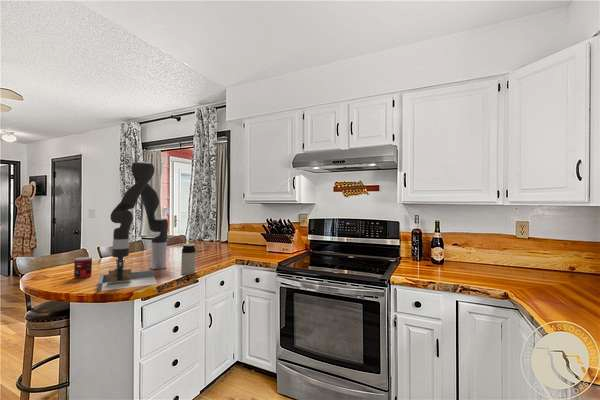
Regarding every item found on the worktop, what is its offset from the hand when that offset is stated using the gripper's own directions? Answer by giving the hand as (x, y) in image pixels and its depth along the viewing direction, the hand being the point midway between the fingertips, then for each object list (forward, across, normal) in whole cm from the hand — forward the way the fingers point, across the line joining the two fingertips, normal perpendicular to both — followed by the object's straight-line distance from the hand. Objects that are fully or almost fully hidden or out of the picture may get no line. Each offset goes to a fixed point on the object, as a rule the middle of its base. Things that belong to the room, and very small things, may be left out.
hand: (119, 279), depth 152 cm
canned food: (+3, +25, +18) cm, 31 cm away
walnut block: (+1, 0, 0) cm, 1 cm away
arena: (+2, -2, -4) cm, 5 cm away
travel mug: (+3, +7, -36) cm, 37 cm away
